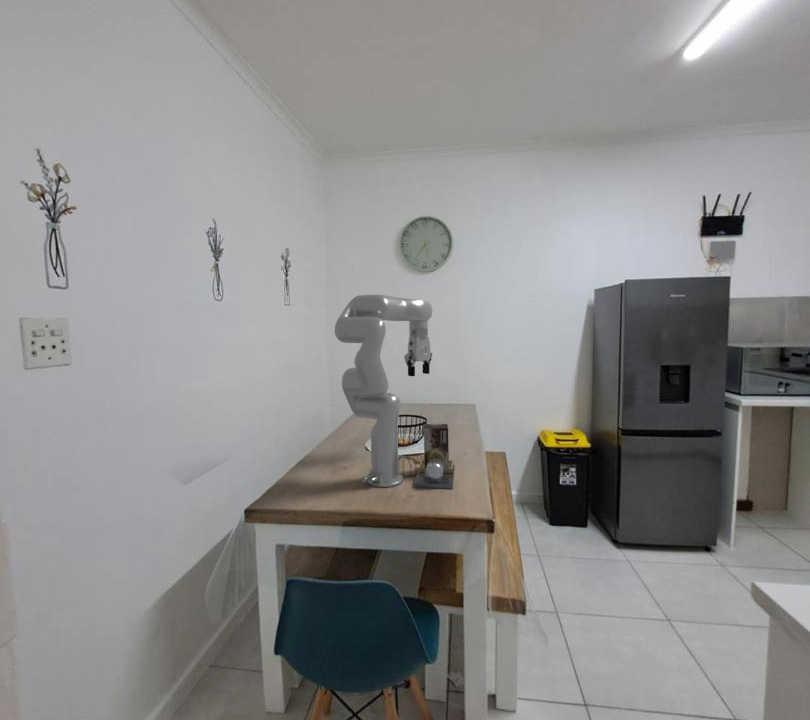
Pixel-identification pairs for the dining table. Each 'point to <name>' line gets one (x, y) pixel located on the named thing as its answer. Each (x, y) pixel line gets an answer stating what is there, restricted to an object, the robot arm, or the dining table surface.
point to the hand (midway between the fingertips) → (418, 374)
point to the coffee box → (436, 443)
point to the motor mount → (435, 475)
